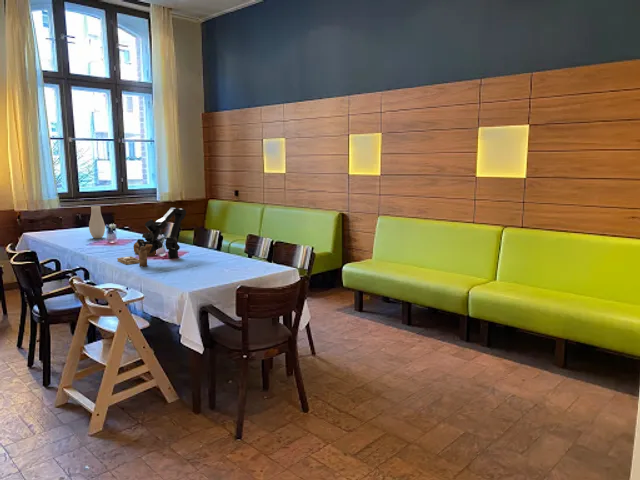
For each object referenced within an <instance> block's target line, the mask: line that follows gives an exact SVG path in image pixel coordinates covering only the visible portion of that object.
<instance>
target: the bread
mask: <svg viewBox="0 0 640 480" xmlns="http://www.w3.org/2000/svg"><path fill="white" fill-rule="evenodd" d="M151 248H152V245H150V244H146V246H145V250H147V257H153V256H156V255H155V254H156V251H154V252H152V253H151V254H150V253H149V252H150V250H151ZM133 252H134V255H139V244H138V243H137V241H136V242H135V243H133Z"/></svg>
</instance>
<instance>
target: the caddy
mask: <svg viewBox="0 0 640 480" xmlns="http://www.w3.org/2000/svg"><path fill="white" fill-rule="evenodd" d="M125 257H126V256H123V257H117V262H119V263H122V264H124V265H125V266H127V265H132V264H133V265H134V264H139V258H137V257H134V256H131V255H130V256H128V257H130V259H123V258H125Z"/></svg>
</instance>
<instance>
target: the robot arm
mask: <svg viewBox="0 0 640 480" xmlns="http://www.w3.org/2000/svg"><path fill="white" fill-rule="evenodd" d="M186 215H187V211H186V209H185V208H178V207H170V208H169V210H167V212H166V213H165V214H164V215H163V217H161V218H159V219H157V220H156V221H155V220H153V219H149V220H148V221H147V222H146V221H145V223H144V227H146V229H147V230H148V231H149V233H148V232H147V233H146V232H142V237H141V238H138V239H137V240H136V242H137V243H138V244H139V251H140V247H141V246H144V247H145V246H146V244H150V245H152V248H151V250H150V252H149V253H150V254H151V253H152V252H154V251H156V250H157V251H158V250H160V249H162V248H163V243H162V242H161V240H159V236H160V235H163V232H162V231H163V230H164V229H166V227H167V226H168V222H169V221H170V220H171V219H172V218H173V217H174V222H173V225H172V229H171V231H170V232H171V233H170V235H169V236H166V238H165V243H164V244H165V249H166V250H167V258H168V259H179V258H180V256H179V250H180V249H181V246H180V245H179V243H178V235H179V231H180V228H181V224H182V222H183V220H184V219H185V217H186ZM143 238H144V239H143Z"/></svg>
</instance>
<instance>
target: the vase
mask: <svg viewBox="0 0 640 480" xmlns="http://www.w3.org/2000/svg"><path fill="white" fill-rule="evenodd" d="M90 210H91V214H90V218H89V219H90V220H89V222H88V231H89V233H90V236H91V237H92V238H93V239H102V238H103V236H104V234H105V231H106V224H105V221H104V218H103V216H102V212H101V211H102V210H101V205H97V206H95V205H94V206H91V207H90Z"/></svg>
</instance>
